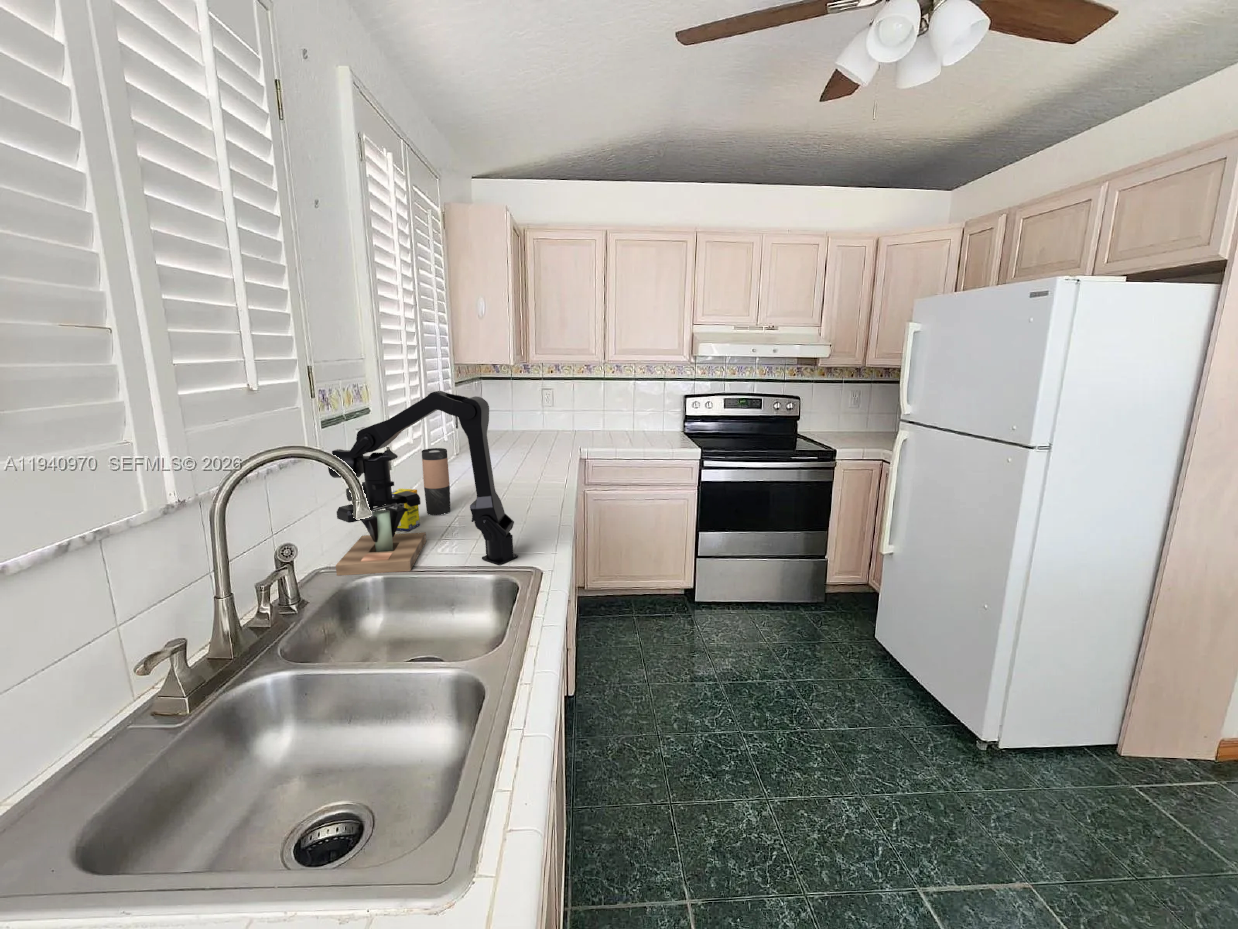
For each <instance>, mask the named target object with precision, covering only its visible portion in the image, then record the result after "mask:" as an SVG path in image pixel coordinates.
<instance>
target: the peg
mask: <svg viewBox="0 0 1238 929" xmlns="http://www.w3.org/2000/svg"><path fill="white" fill-rule="evenodd" d="M373 516H375V517H377V523H378V540H377V542H375V549H376V552H388V551H393V540H392V530H391V520H390V511H389V510H385V509H381V510H377V511H373Z"/></svg>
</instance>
